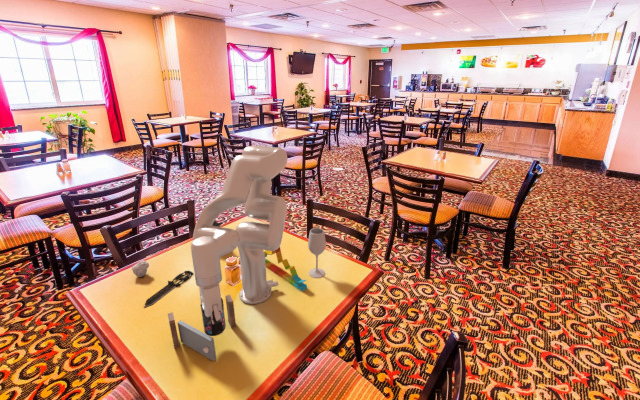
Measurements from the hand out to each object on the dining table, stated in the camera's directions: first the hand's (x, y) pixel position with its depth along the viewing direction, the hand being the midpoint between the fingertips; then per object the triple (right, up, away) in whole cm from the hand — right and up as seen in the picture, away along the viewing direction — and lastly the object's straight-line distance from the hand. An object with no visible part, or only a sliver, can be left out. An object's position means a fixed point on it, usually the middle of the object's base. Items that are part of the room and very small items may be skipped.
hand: (214, 323), depth 103 cm
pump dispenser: (-20, +15, +63) cm, 68 cm away
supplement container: (0, -2, +1) cm, 3 cm away
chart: (+17, +6, +40) cm, 44 cm away
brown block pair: (-5, -6, +7) cm, 11 cm away
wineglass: (+32, +7, +41) cm, 53 cm away
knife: (-29, +2, +30) cm, 42 cm away
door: (-5, -8, -1) cm, 10 cm away
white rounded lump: (-45, +6, +39) cm, 59 cm away
